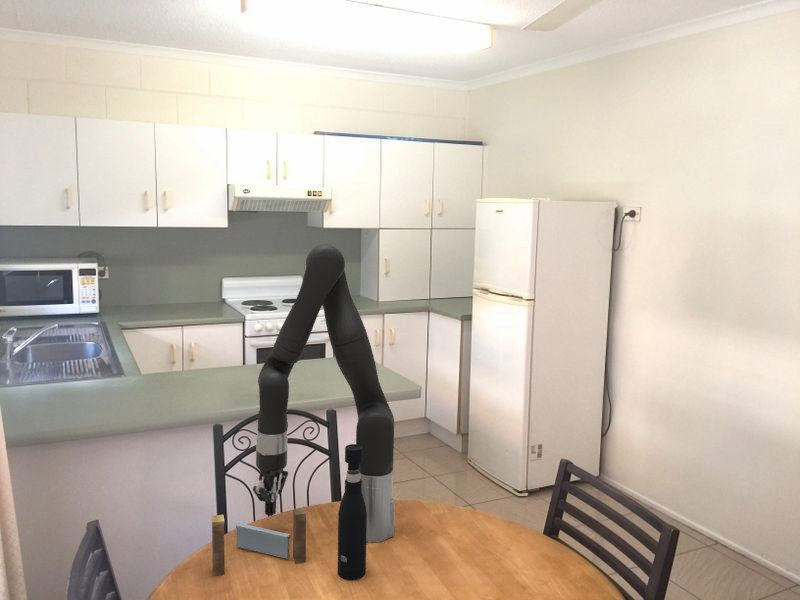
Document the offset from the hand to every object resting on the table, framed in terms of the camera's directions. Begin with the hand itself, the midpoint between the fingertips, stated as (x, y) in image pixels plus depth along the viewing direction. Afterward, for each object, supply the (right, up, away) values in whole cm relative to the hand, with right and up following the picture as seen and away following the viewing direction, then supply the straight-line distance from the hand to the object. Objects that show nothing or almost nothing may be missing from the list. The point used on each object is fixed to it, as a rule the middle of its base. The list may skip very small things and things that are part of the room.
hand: (270, 514), depth 168 cm
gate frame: (0, -8, -12) cm, 15 cm away
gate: (-1, -7, -7) cm, 10 cm away
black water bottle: (+21, -9, -14) cm, 27 cm away
